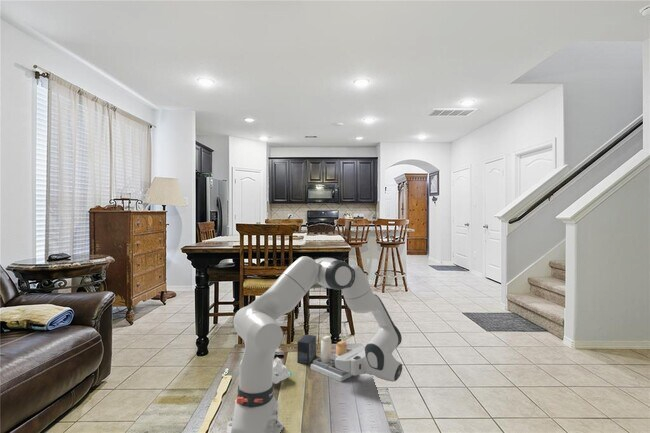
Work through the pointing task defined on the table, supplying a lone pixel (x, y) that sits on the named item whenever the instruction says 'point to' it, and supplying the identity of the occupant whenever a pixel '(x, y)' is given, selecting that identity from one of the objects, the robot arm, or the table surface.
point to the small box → (306, 349)
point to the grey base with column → (328, 362)
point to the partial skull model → (279, 371)
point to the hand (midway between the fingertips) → (339, 352)
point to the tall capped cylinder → (341, 349)
